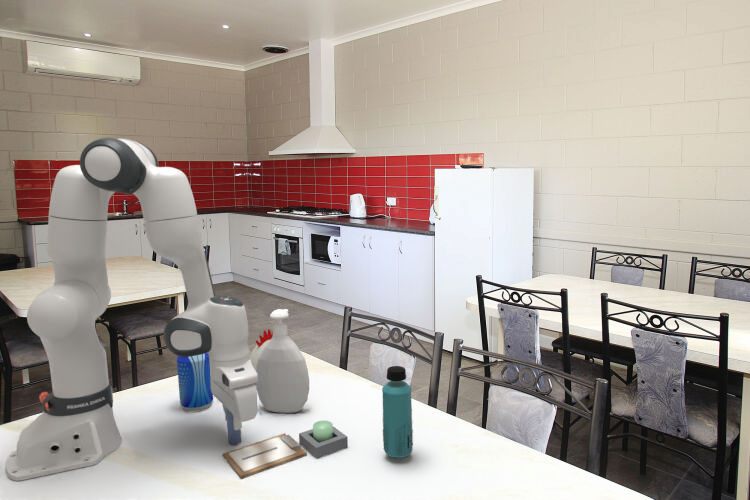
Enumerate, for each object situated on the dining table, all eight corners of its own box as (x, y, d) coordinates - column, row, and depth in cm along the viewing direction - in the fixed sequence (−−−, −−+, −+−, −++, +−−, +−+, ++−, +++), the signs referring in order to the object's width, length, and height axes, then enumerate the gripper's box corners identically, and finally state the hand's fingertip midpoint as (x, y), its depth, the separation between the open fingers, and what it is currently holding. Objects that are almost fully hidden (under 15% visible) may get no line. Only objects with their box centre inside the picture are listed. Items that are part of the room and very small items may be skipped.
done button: (319, 447, 117) (318, 431, 116) (309, 439, 120) (309, 424, 120) (336, 441, 119) (336, 425, 119) (326, 433, 123) (326, 418, 122)
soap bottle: (315, 403, 142) (312, 305, 138) (305, 417, 134) (301, 313, 130) (264, 400, 145) (260, 304, 141) (252, 413, 137) (246, 311, 133)
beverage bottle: (411, 466, 111) (410, 374, 108) (380, 463, 112) (378, 372, 109) (415, 450, 117) (414, 363, 114) (385, 447, 118) (384, 361, 116)
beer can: (217, 407, 141) (213, 349, 139) (185, 415, 136) (180, 356, 134) (208, 396, 148) (204, 341, 146) (176, 404, 143) (172, 347, 141)
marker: (230, 446, 120) (228, 404, 119) (225, 441, 123) (223, 400, 121) (243, 442, 122) (241, 401, 121) (238, 437, 125) (236, 396, 123)
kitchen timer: (301, 376, 162) (299, 329, 159) (263, 390, 152) (261, 339, 150) (274, 366, 171) (272, 321, 169) (237, 378, 161) (234, 330, 159)
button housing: (316, 458, 114) (316, 447, 114) (299, 443, 121) (298, 433, 120) (347, 447, 119) (347, 436, 119) (329, 433, 125) (329, 423, 125)
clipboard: (241, 478, 107) (240, 472, 107) (222, 456, 116) (222, 450, 116) (306, 455, 116) (306, 449, 116) (284, 435, 125) (284, 430, 125)
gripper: (201, 357, 126) (205, 412, 128) (232, 384, 110) (236, 446, 112) (227, 352, 130) (230, 405, 132) (261, 377, 114) (264, 437, 115)
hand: (233, 424), depth 122 cm, fingers closed on marker, 3 cm apart
